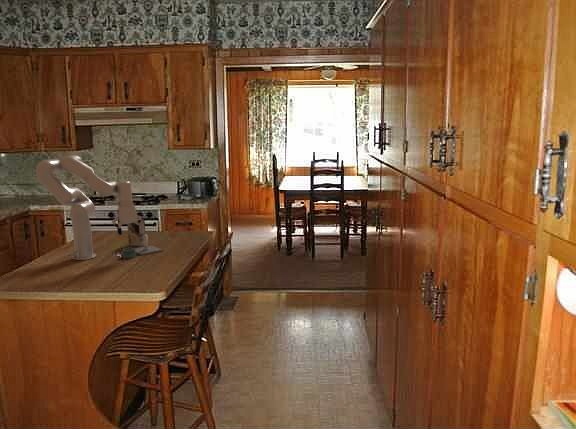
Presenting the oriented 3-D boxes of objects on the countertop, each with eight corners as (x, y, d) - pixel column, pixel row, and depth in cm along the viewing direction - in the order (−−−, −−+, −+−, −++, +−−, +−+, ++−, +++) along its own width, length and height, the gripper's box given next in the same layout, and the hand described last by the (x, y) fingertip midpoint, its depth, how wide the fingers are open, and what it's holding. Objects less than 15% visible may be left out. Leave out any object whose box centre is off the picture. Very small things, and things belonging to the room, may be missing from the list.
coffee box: (146, 244, 312) (145, 219, 309) (140, 246, 306) (139, 220, 303) (134, 243, 315) (132, 218, 312) (128, 245, 309) (126, 220, 306)
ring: (126, 258, 276) (125, 251, 275) (121, 256, 281) (120, 249, 280) (137, 256, 281) (136, 249, 280) (132, 254, 285) (131, 247, 285)
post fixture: (140, 255, 283) (139, 238, 282) (130, 251, 294) (128, 234, 292) (162, 251, 293) (161, 234, 291) (151, 247, 303) (150, 231, 301)
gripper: (113, 206, 267) (116, 236, 270) (143, 202, 278) (145, 231, 281) (107, 204, 273) (110, 234, 275) (137, 200, 284) (139, 229, 287)
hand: (128, 233), depth 278 cm, fingers open, 9 cm apart
